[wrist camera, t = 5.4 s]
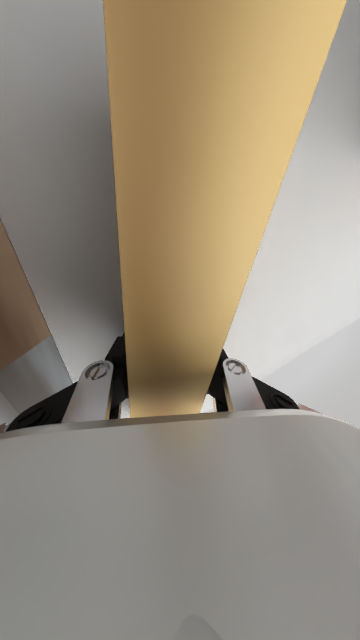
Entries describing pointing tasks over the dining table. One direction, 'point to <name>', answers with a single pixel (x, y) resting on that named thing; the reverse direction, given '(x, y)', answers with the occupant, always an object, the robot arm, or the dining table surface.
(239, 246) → the bar
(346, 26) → the dining table surface
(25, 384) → the door and jamb
